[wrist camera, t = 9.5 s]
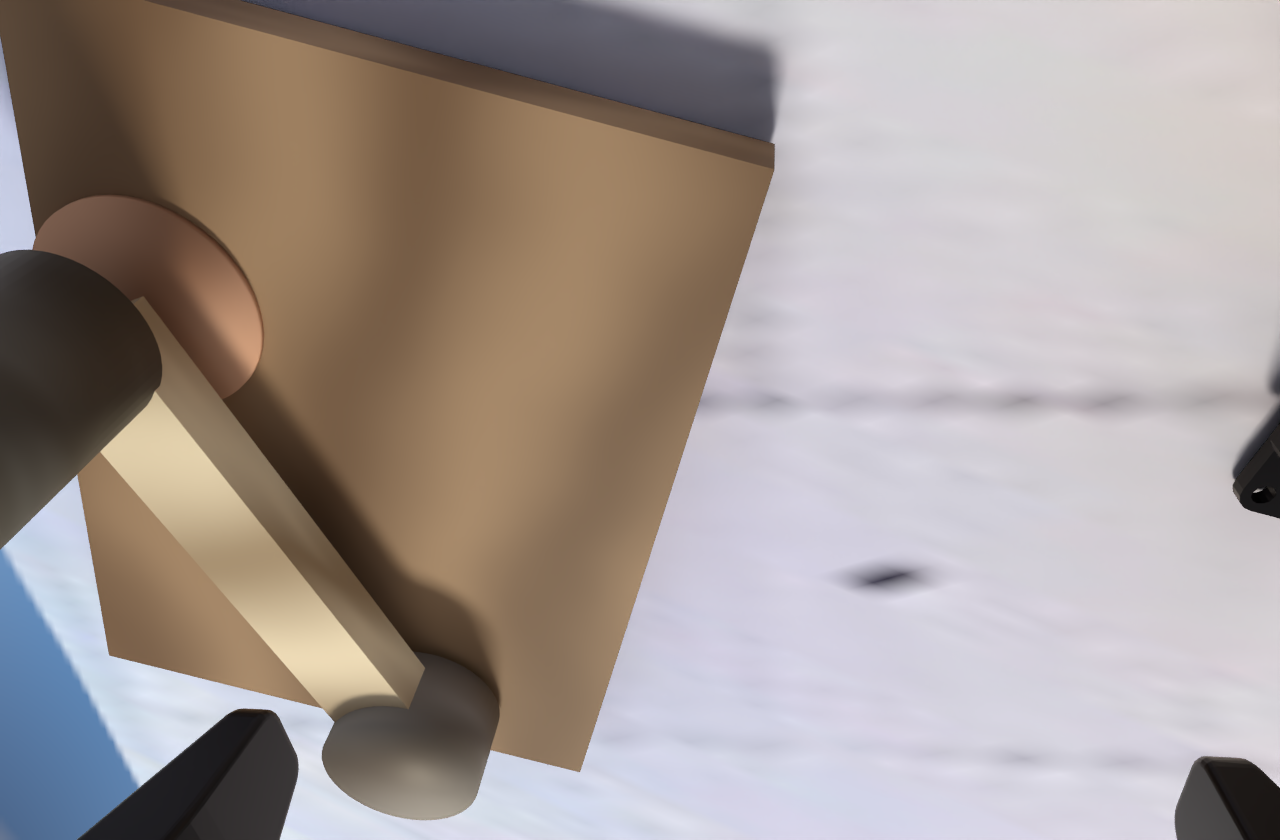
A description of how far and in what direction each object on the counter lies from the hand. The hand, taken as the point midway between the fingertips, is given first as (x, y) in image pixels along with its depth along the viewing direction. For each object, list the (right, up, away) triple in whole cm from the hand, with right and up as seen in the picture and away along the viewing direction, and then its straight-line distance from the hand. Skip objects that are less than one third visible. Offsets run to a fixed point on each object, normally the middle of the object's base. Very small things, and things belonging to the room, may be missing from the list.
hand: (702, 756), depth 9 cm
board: (-7, +3, +15) cm, 17 cm away
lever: (-10, 0, +15) cm, 18 cm away
